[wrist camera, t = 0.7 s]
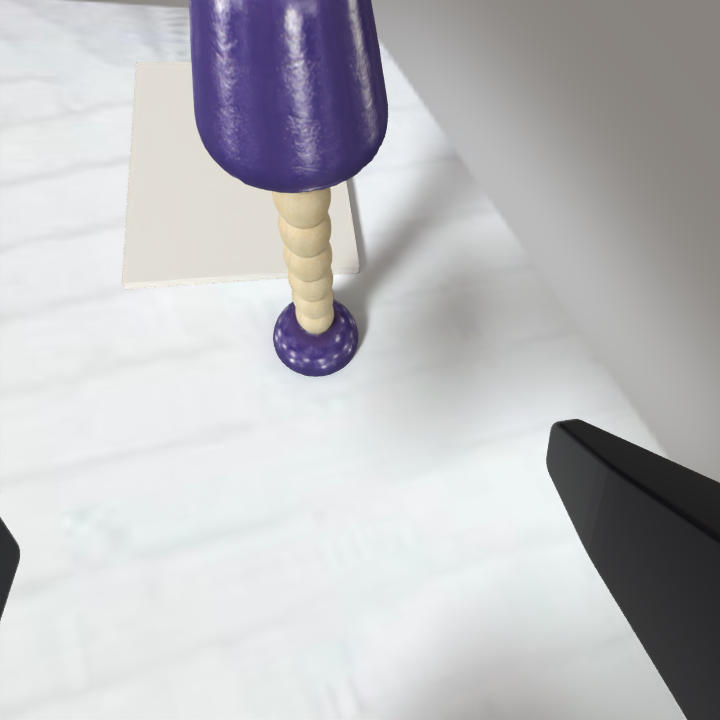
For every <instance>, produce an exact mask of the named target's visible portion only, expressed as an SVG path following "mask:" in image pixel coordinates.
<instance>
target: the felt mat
mask: <svg viewBox="0 0 720 720" xmlns="http://www.w3.org/2000/svg"><path fill="white" fill-rule="evenodd" d="M330 188H331V203H330V207H329V210H328V213H329V216H330V219H331V237H330V240H329V242H330V245H331V248H332V263H331V269H332V273H333V275H337V274H351V273H359V268H360V266H359V259H358V253H357V246H356V240H355V233H354V227H353V221H352V214H351V208H350V201H349V195H348V188H347V182H346V181H344V182H341V183H340V184H338V185H336V186H332V187H330ZM278 216H279V212H278V210H277V208H276V207H275V204H274V200H273V196H272V191H267V190H264V189H259V188H255V187H252V186H249V185H246V184H244V183H243V182H242V181H240V180H239V179H237V178H234V177H232V176H231V175H229V174H228V173H227V172H226V171H224V170H223V169H222V168H221V167H220V166H219V165H218V164H217V163H216V162H215V161H214V160H213V159H212V157H211V156H210V155H209V153H208V151H207V150H206V149H205V147H204V145H203V143H202V141H201V138H200V135H199V133H198V129H197V126H196V120H195V114H194V100H193V84H192V62H158V63H136V74H135V89H134V104H133V120H132V135H131V150H130V165H129V181H128V196H127V211H126V226H125V241H124V257H123V272H122V284H123V286H124V287H125V288H126V290H127V289H141V288H155V287H169V286H183V285H197V284H211V283H225V282H239V281H253V280H267V279H281V278H288V268H287V266H286V263H285V261H284V256H283V245H284V242H283V240H282V238H281V236H280V232H279V227H278Z"/></svg>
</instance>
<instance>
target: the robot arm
mask: <svg viewBox="0 0 720 720" xmlns="http://www.w3.org/2000/svg"><path fill="white" fill-rule="evenodd" d="M546 464H547V469H548V472H549V474H550V477H551V479H552V481H553V483H554V485H555V487H556V489H557V491H558V493H559V496H560V498H561V500H562V502H563V504H564V506H565V508H566V510H567V513H568V515H569V517H570V519H571V521H572V523H573V525H574V527H575V529H576V532H577V534H578V536H579V538H580V540H581V542H582V544H583V546H584V548H585V550H586V552H587V554H588V556H589V557H590V559H591V561H592V563H593V564H594V566H595V568H596V569H597V571H598V573H599V574H600V576H601V578H602V579H603V581H604V583H605V584H606V586H607V588H608V589H609V591H610V593H611V594H612V596H613V597H614V599H615V601H616V602H617V604H618V606H619V607H620V609H621V611H622V612H623V614H624V616H625V617H626V619H627V621H628V622H629V624H630V626H631V627H632V629H633V631H634V632H635V634H636V635H637V637H638V639H639V640H640V642H641V644H642V645H643V647H644V649H645V650H646V652H647V654H648V655H649V657H650V659H651V660H652V662H653V664H654V665H655V667H656V669H657V670H658V672H659V673H660V675H661V677H662V678H663V680H664V682H665V683H666V685H667V687H668V688H669V690H670V692H671V693H672V695H673V697H674V698H675V700H676V702H677V703H678V705H679V706H680V708H681V710H682V711H683V713H684V715H685V716H686V718H687V720H720V483H719V482H717V481H715V480H712V479H710V478H708V477H706V476H703V475H701V474H699V473H697V472H694V471H692V470H690V469H688V468H686V467H683V466H681V465H679V464H677V463H675V462H673V461H670V460H668V459H666V458H664V457H662V456H659V455H657V454H655V453H653V452H651V451H648V450H646V449H644V448H642V447H639V446H637V445H635V444H633V443H631V442H628V441H626V440H624V439H622V438H620V437H617V436H615V435H613V434H611V433H609V432H606V431H604V430H602V429H600V428H598V427H595V426H593V425H591V424H589V423H586V422H584V421H582V420H579V419H571V420H564V421H558V422H556V423H554V424H553V425H552V427H551V431H550V437H549V444H548V451H547V457H546ZM19 560H20V549H19V545H18V543H17V542H16V540H15V539H14V537H13V536H12V534H11V533H10V531H9V530H8V528H7V527H6V525H5V523H4V522H3V520H2V519H1V517H0V620H1V617H2V614H3V611H4V608H5V604H6V601H7V598H8V595H9V592H10V589H11V586H12V583H13V579H14V576H15V573H16V570H17V567H18V564H19Z"/></svg>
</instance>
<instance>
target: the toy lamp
mask: <svg viewBox="0 0 720 720" xmlns="http://www.w3.org/2000/svg"><path fill="white" fill-rule="evenodd" d="M189 10H190V41H191V62H192V84H193V100H194V114H195V120H196V126H197V129H198V133H199V135H200V138H201V141H202V143H203V145H204V147H205V149H206V150H207V151H208V153H209V155H210V156H211V157H212V159H213V160H214V161H215V162H216V163H217V164H218V165H219V166H220V167H221V168H222V169H223V170H224V171H226V172H227V173H228V174H229V175H231V176H232V177H234V178H237V179H239V180H240V181H242V182H243V183H244V184H246V185H249V186H252V187H255V188H259V189H264V190H267V191H272V196H273V200H274V204H275V207H276V208H277V210H278V212H279V216H278V227H279V232H280V236H281V238H282V240H283V242H284V245H283V256H284V261H285V263H286V266H287V268H288V281H289V284H290V287H291V289H292V298H293V302H292V303H291V304H289V305H288V306H287V307H286V308H285V309H284V310H283V311H282V313H281V314H280V316H279V317H278V319H277V322H276V325H275V328H274V334H273V341H274V347H275V349H276V352H277V355H278V357H279V358H280V359H281V361H282V362H283V363H284V364H285V365H286V366H287V367H289V368H290V369H291V370H293V371H295V372H297V373H300V374H303V375H306V376H325V375H330V374H332V373H334V372H337V371H339V370H340V369H341V368H343V367H345V366H346V365H347V364H348V363H349V361H350V360H351V358H352V357H353V354H354V353H355V350H356V347H357V342H358V331H357V326H356V323H355V321H354V319H353V317H352V315H351V314H350V312H349V311H348V310H347V309H346V308H345V307H344V306H343V305H342V304H341V303H339V302H338V301H336V300H334V299H333V290H332V284H333V273H332V269H331V263H332V248H331V245H330V242H329V240H330V237H331V219H330V216H329V213H328V210H329V207H330V203H331V188H330V187H332V186H336V185H338V184H340V183H341V182H344V181H346V180H348V179H349V178H351V177H353V176H355V175H356V174H357V173H358V172H360V171H361V170H362V168H363V167H365V166H366V165H367V164H368V163H369V162H371V161H372V160H373V158H374V156H375V155H376V154H377V152H378V150H379V147H380V146H381V145H382V142H383V140H384V137H385V134H386V129H387V122H388V102H387V95H386V89H385V82H384V76H383V70H382V64H381V56H380V49H379V43H378V38H377V32H376V26H375V21H374V15H373V9H372V3H371V0H189Z"/></svg>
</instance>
